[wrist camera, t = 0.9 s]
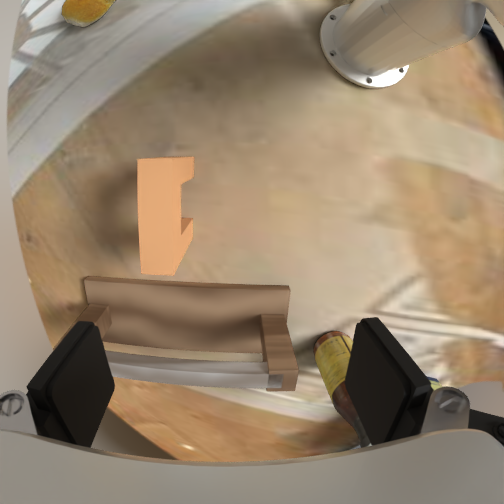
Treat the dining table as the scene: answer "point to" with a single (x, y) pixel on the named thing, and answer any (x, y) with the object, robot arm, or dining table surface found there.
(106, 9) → the bread roll
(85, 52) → the dining table surface
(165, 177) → the wooden arch block
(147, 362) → the rail stand
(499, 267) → the dining table surface
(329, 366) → the sauce bottle
